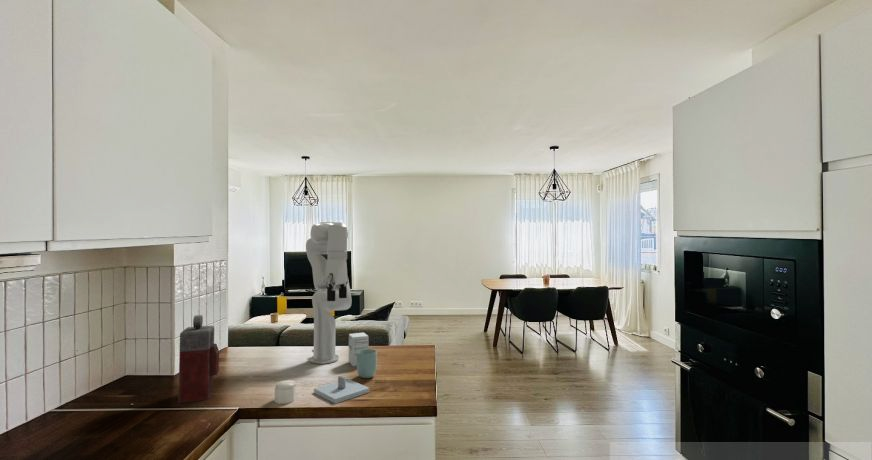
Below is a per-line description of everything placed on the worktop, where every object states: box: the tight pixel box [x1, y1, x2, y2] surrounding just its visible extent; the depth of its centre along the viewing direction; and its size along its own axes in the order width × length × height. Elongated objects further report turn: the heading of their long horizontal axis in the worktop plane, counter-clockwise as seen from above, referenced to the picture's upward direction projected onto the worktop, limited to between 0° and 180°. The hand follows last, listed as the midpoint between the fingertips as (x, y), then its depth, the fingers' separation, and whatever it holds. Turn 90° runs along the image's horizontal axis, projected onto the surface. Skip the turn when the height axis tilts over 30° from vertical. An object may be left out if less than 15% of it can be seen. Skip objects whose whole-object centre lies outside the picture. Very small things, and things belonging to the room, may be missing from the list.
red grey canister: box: [177, 314, 220, 404], centre depth 138 cm, size 9×11×28 cm
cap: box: [274, 379, 297, 405], centre depth 134 cm, size 6×6×6 cm
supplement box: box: [348, 332, 370, 367], centre depth 175 cm, size 7×7×13 cm
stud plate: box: [313, 375, 370, 404], centre depth 141 cm, size 14×14×6 cm
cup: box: [356, 348, 378, 379], centre depth 157 cm, size 8×8×10 cm
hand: (337, 299), depth 154 cm, fingers open, 9 cm apart
